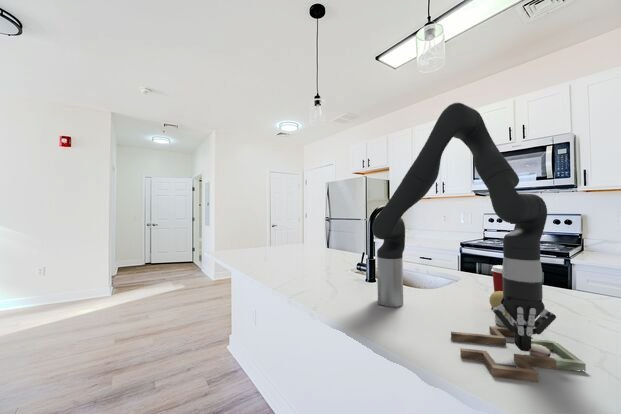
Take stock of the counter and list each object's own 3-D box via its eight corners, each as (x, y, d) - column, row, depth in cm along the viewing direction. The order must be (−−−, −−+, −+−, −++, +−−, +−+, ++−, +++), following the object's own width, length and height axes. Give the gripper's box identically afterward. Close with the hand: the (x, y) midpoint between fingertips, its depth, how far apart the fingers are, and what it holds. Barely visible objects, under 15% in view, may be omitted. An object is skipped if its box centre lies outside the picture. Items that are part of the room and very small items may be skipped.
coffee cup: (527, 316, 88) (526, 270, 88) (498, 315, 90) (497, 269, 90) (513, 307, 96) (512, 265, 96) (487, 306, 98) (486, 264, 98)
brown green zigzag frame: (470, 373, 58) (470, 365, 58) (445, 328, 80) (445, 322, 80) (609, 391, 52) (609, 381, 52) (541, 337, 74) (541, 330, 74)
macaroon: (525, 354, 65) (525, 344, 65) (531, 348, 68) (531, 338, 68) (548, 362, 62) (548, 351, 62) (554, 355, 65) (554, 344, 65)
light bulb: (517, 331, 78) (516, 296, 78) (490, 326, 81) (489, 292, 81) (514, 323, 83) (513, 290, 83) (489, 319, 86) (488, 287, 86)
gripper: (496, 279, 63) (497, 354, 63) (565, 282, 60) (566, 361, 60) (484, 272, 71) (485, 339, 70) (545, 274, 67) (546, 345, 67)
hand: (523, 349), depth 65 cm, fingers closed
